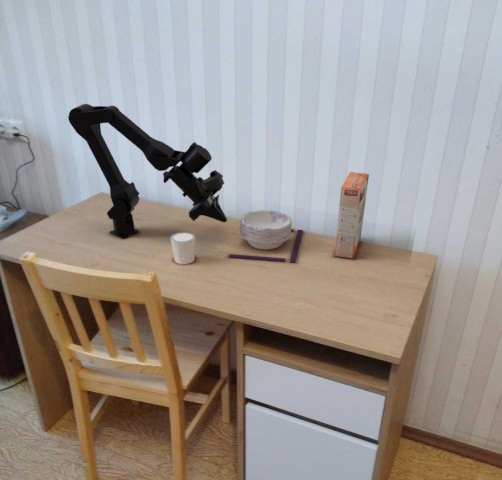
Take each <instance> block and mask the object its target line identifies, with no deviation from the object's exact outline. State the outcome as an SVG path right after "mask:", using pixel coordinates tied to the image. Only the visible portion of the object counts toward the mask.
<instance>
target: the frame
mask: <svg viewBox="0 0 502 480" xmlns="http://www.w3.org/2000/svg"><path fill="white" fill-rule="evenodd" d="M303 232H304V230H303V229H297V233H296V236H295V240H294V244H293V248H292V252H291V256H290V259H289V263H291V264H295V263H296V261H297V257H298V253H299V249H300V244H301V241H302V236H303ZM291 233H294V228H291ZM228 258H229V259H242V260H254V261H255V260H256V261H265V262H267V261H268V262H278V263H285V262H286V258H285V257H283V258H282V257H272V256H271V257H269V256H257V255H247V254H246V255H244V254H233V253H232V254H231V253H230V254H229V256H228Z"/></svg>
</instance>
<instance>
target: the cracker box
mask: <svg viewBox="0 0 502 480" xmlns="http://www.w3.org/2000/svg"><path fill="white" fill-rule="evenodd" d="M369 179H370V174H369V173H364V172H354V171H353V172H352V171H350V172H349V173H348V174H347V177H346V178H345V179H344V182H343V183H342V185H341V186H340V196H339V203H338V204H339V205H338V215H337V227H336V234H335V235H336V236H335V245H334V255H333V256H334V257H338V258H345V259H354V257H355V254H356V253H357V250H358V247H359V245H360V242H361V239H362V232H363V231H362V230H363V222H364V215H365V208H366V199H367V194H368V192H367V191H368V186H369V185H368V184H369Z"/></svg>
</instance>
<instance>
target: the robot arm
mask: <svg viewBox="0 0 502 480" xmlns="http://www.w3.org/2000/svg"><path fill="white" fill-rule="evenodd" d="M67 119H68V122H69V124H70V125H71V127H72V128H73V130H74V131H75V133H76V134H77V135H78V136H79V137H81V138H82V139H83V140H84V141H85V142H86V144H87V145H88V148H89V149H90V151H91V153H92V155H93V157H94V159H95V161H96V163H97V164H98V167H99V169H100V170H101V173H102V175H103V177H104V178H105V180H106V182H107V184H108V186H109V193H110V199H111V203H112V206H111V207H110V208H109V210H107V212H106V214H107V216H108V219H109V220H112V226H113V229H112V230H111V231H109V233H110V234H111V235H113V236H116V237H117V238H121V239H125V238H127V237H130V236H133V235H135V234H137V233H139V232H140V231H139V230H138V229H136V228H135V221H134V217H133V214H132V212H133V211H134V210H135V207H136V206H137V205H138V204H139V202H140V196H139V195H140V192H139V191H138V189H137V188H136V185H135V183H134V182H133V181H131V182H130V183H129V182H128V181H127V180H125V178H124V176H123V174H122V172H121V170H120V168H119V167H118V164H117V162H116V160H115V158H114V156H113V155H112V152H111V150H110V148H109V146H108V144H107V142H106V141H105V139H104V136H103V135H102V126H101V124H109V125H110V126H111V127H113V129H115V130H116V131H117V132H118V133H120V134H121V135H122V136H123V137H125V138H126V139H127V140H128V141H129V142H130V143H132V144H133V145H134V146H135V147H136V148H137V149H139V150H140V151H141V152H142V154H143V155H144V157H145V159H146V161H148V163H149V164H150V165H151V166H152V167H153V168H154V169H155V170H157V171H158V172H163V173H162V176H163V183H164V184H166V183H167V182H168V181H169V180H171V181H172V182H173V183H174V184H175V185H176V187H178V188H179V189H180V190H181V192H183V193H182V194H181V195H182V196H183V197H184V198H185V197H187V198H189V200H190V201H192V207H191V209H190V210H189V211H188V217H189V218H190V219H191V221H192V222H195V221H196V220H197V219H198V218H199V217H200V216H201V217H202V216H204V217H207V218H211V219H212V220H216V221H219V222H221V223H226V222H227V221H228V218H227V216H226V214H225V212H224V211H223V208H222V207H221V205H220V203H219V200H220V199H219V198H220V195H219V194H217V193H218V192H220V191H221V189H222V188H223V185H225V181H224V179H223V177H224V175H223V174H222V173H221V172H218V171H217V170H216V169H214V170H212V171H210V172H209V176H208V177H207V178H203V177H201V176H198V177H197V176H195V174H199V173H200V172H202V170H203V169H204V168H205V167H206V166H207V165H208V164H209V163H210V162H211V161H212V158H213V157H212V155H211V153H210V152H209V150H208V149H207V148H206V147H203V146H202V145H200V144H198V143H197V142H196V141H193V143H191V145H190V146H189V147H188V149H186V151H181V150H176V149H174V148H173V147H171V145H168V144H166V143H165V142H163V141H161V140H159V139H156V138H153V137H152V136H151V135H149V134H148V133H147V132H146V131H144V130H143V129H142V128H141V127H140V126H139V125H137V124H136V123H135V122H134V121H133V120H131V119H130V118H129V117H128V116H127V115H125V114H124V113H123V112H122V111H121V110H120V109H119V108H118V107H117V106H115V105H107V106H106V105H96V106H94V105H91V104H89V103H83V104H80V105H78V106H76V107H73V108H72V109H70V111H69V113H68V116H67ZM180 162H181V164H180V165H178V164H179V163H180ZM169 168H171V169H170V170H168V169H169ZM194 173H195V174H194ZM216 194H217V195H216ZM215 195H216V196H215Z"/></svg>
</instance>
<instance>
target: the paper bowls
mask: <svg viewBox="0 0 502 480" xmlns="http://www.w3.org/2000/svg"><path fill="white" fill-rule="evenodd" d="M292 222H293V220H292V218H291V217H290V216H289V215H288V214H286V213H283V212H281V211H275V210H265V209H264V210H261V209H260V210H253V211H249V212H246V213H244V214H243V215H242V216H241V217H240V220H239V232H240V233H239V234H240V236H241V238H243V240H246V241H247V243H248V244H249V245H250V246H251V247H253V248H255V249H259V250H273V249H277V248H279V247H281V246H282V245H283V244H284V243H285V242H286V241H289V239H291V237H292V232H291V229H292V225H293V223H292Z"/></svg>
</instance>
